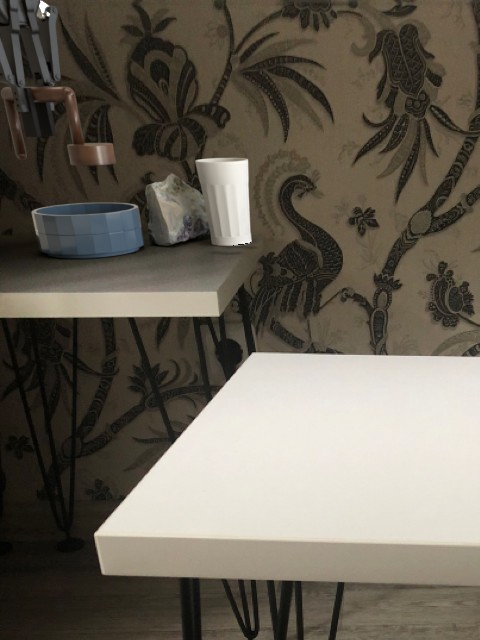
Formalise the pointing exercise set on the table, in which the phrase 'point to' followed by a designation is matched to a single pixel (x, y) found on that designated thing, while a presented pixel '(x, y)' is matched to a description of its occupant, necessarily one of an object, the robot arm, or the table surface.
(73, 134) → the bent rod with disc
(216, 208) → the cup
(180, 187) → the mineral rock
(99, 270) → the table surface
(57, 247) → the bowl
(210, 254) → the table surface
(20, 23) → the robot arm
